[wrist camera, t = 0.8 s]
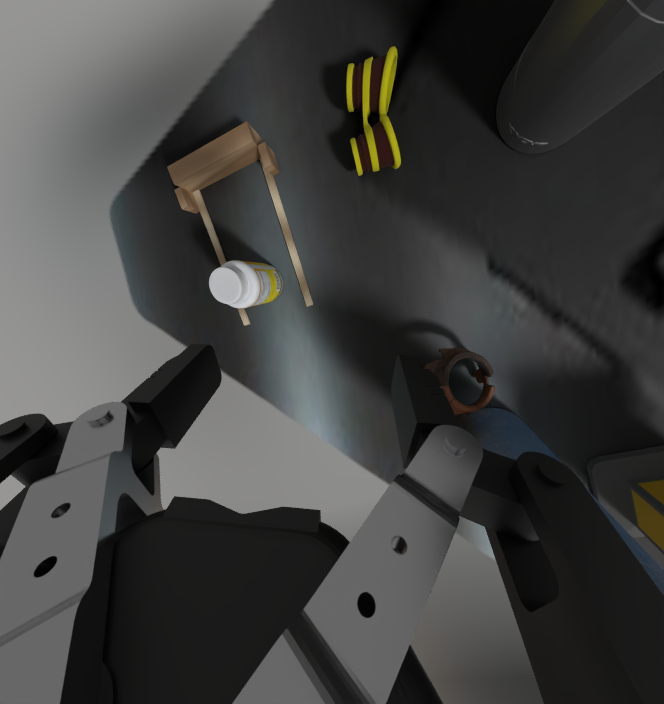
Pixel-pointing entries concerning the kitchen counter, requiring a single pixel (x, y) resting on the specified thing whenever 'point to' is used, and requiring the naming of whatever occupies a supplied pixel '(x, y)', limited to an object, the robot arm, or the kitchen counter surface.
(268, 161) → the bay
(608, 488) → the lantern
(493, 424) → the bottle
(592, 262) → the kitchen counter surface
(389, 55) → the opera glasses
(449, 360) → the brown jagged curved piece
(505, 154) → the kitchen counter surface
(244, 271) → the supplement bottle
